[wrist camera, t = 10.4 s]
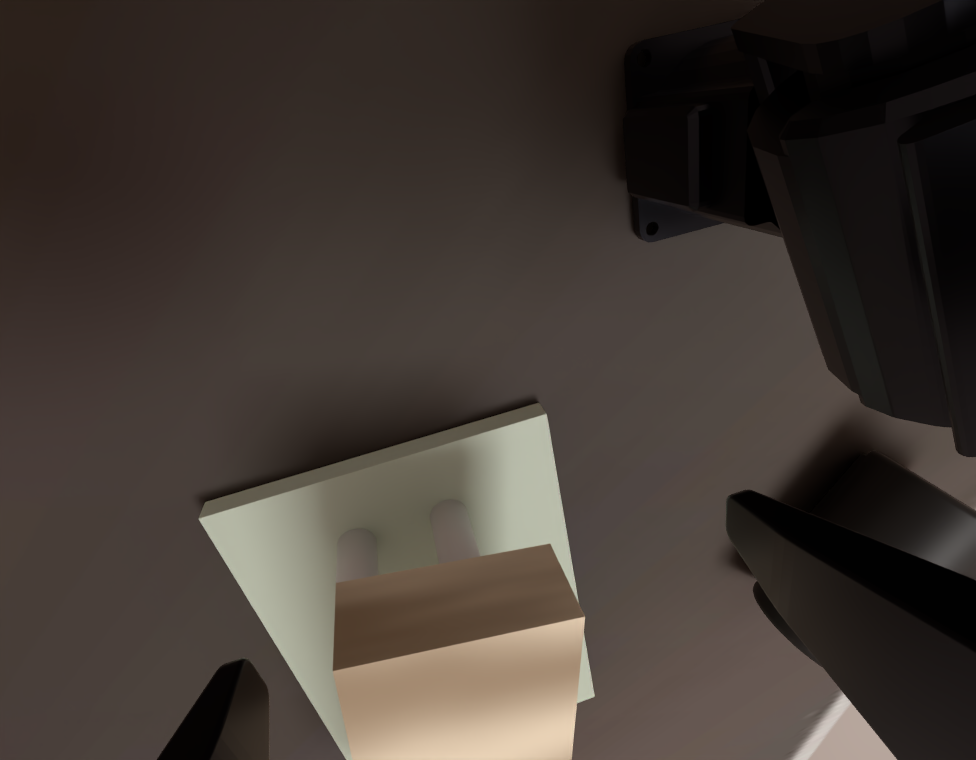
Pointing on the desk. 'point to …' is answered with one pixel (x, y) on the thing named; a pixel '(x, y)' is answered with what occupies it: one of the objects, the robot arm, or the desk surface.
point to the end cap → (893, 521)
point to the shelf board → (460, 660)
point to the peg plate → (387, 531)
